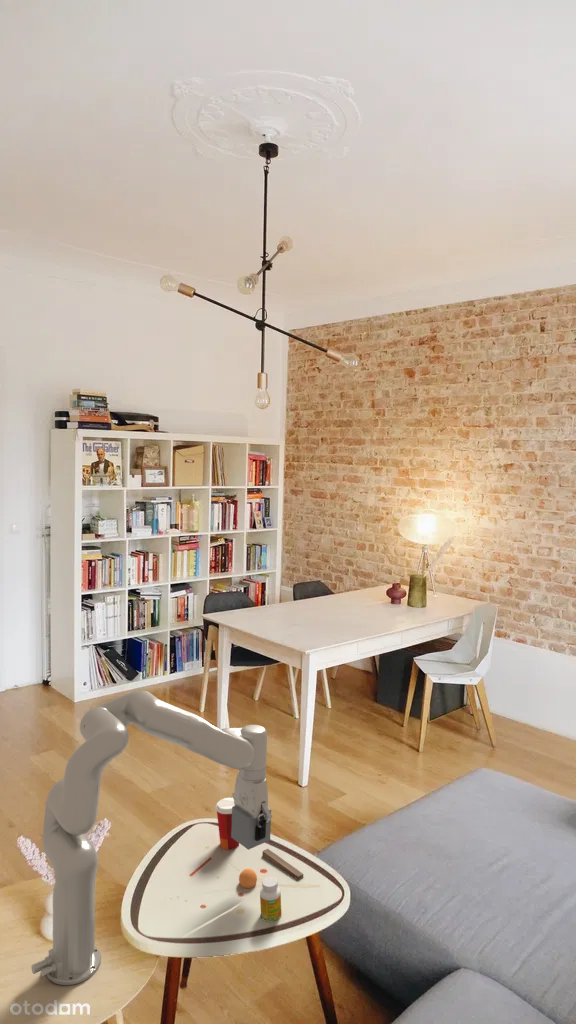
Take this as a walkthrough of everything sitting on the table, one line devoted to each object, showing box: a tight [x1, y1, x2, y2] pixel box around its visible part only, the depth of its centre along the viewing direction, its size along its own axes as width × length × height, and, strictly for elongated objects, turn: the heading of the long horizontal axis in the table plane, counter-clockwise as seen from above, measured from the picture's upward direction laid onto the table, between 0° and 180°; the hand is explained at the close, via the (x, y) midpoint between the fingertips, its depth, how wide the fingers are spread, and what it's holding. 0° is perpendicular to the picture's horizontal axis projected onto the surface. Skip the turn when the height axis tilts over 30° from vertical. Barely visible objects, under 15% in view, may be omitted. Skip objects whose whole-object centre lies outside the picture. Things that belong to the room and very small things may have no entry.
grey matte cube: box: [231, 806, 272, 850], centre depth 189 cm, size 8×8×9 cm
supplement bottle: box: [259, 876, 282, 922], centre depth 177 cm, size 5×5×10 cm
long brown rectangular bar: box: [261, 848, 304, 881], centre depth 198 cm, size 2×16×2 cm, turn 41°
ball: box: [238, 868, 258, 889], centre depth 189 cm, size 5×5×5 cm
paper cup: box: [214, 797, 240, 851], centre depth 208 cm, size 8×8×14 cm
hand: (250, 832), depth 189 cm, fingers closed on grey matte cube, 7 cm apart
